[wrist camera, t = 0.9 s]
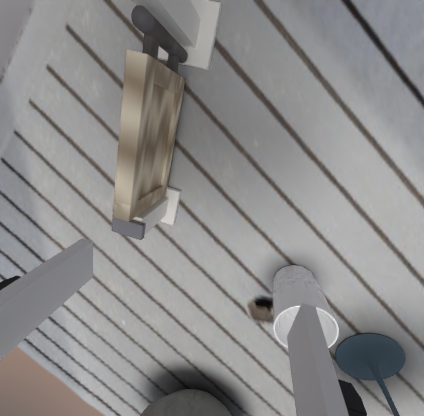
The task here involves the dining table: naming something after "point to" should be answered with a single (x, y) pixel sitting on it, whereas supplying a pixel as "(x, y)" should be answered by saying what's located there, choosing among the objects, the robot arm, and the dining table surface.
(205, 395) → the ceramic pot
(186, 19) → the hinge post
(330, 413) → the robot arm
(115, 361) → the dining table surface
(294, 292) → the white cup
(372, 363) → the cocktail glass
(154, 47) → the gate
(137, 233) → the latch post
